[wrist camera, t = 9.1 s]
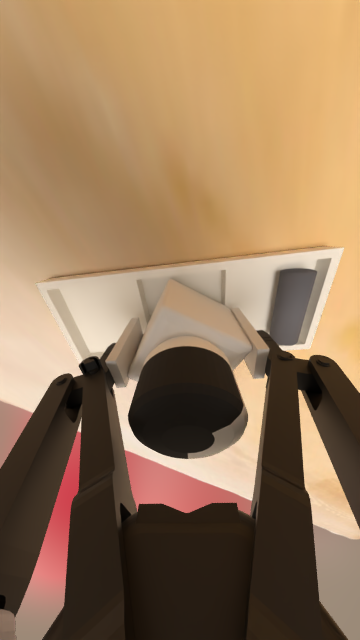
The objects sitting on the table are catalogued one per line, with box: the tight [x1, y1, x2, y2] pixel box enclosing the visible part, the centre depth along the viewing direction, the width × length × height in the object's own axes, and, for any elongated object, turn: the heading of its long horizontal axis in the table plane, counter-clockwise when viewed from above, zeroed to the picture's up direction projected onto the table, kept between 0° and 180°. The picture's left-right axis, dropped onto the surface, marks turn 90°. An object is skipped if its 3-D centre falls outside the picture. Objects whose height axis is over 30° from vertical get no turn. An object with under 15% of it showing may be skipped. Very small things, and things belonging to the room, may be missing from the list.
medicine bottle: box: [128, 279, 252, 459], centre depth 13 cm, size 7×7×12 cm
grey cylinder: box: [269, 268, 317, 346], centre depth 18 cm, size 8×3×3 cm
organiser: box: [35, 246, 344, 364], centre depth 19 cm, size 12×30×2 cm, turn 97°
